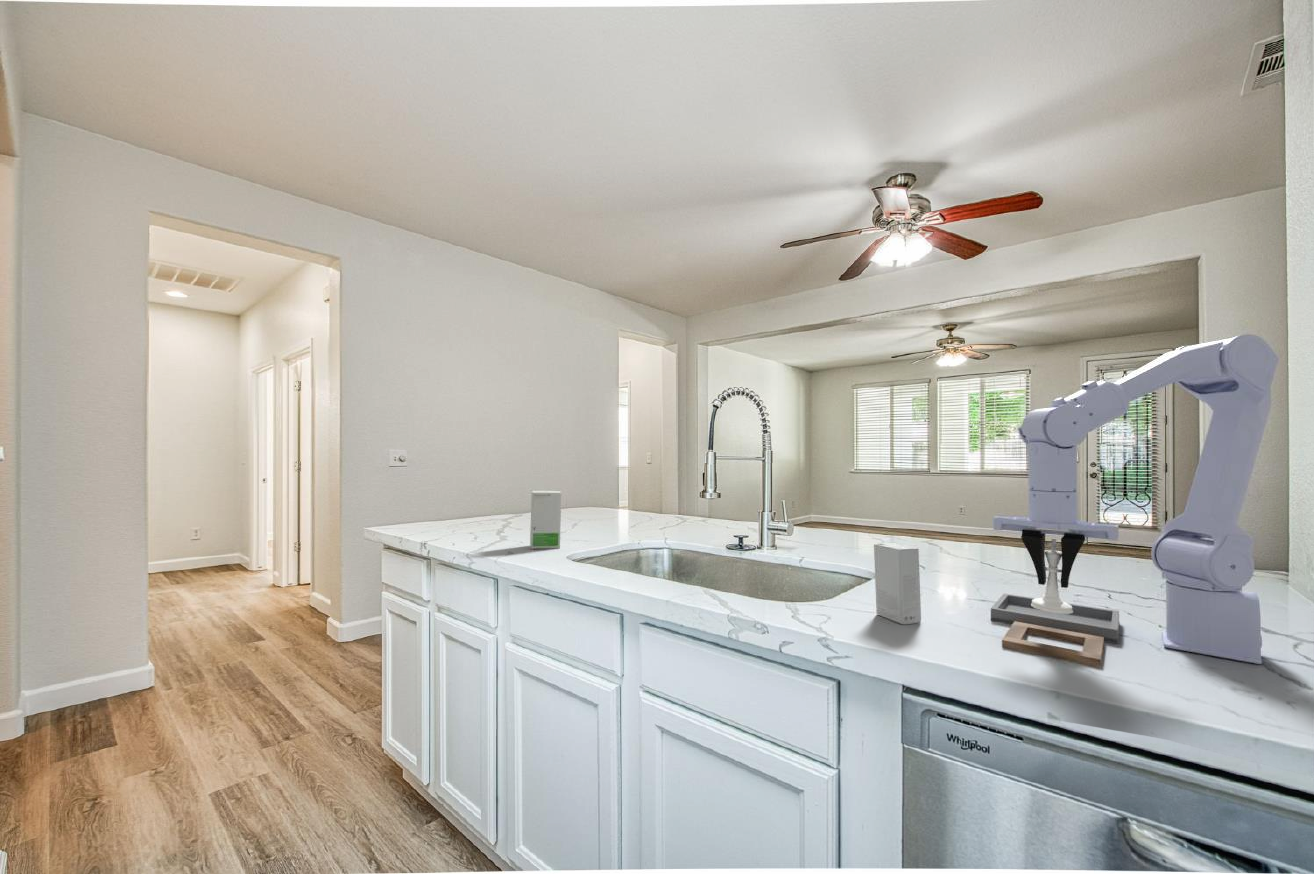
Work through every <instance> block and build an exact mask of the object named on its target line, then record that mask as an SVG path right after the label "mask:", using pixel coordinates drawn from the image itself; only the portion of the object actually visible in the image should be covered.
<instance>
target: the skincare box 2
mask: <svg viewBox="0 0 1314 874" xmlns="http://www.w3.org/2000/svg"><path fill="white" fill-rule="evenodd" d="M919 550H920V549H919V547H918V548H917V547H913V546H909V545H904V544H901V543H900V544H898V543H895V542H883V543H875V544H873V556H874V557H873V558H874V579H875V580H874V581H875V582H874V583H875V584H874V585H875V606H876V609H875V611H876V615H878V616H880V617H883V618H885V619H888V620H891V621H892V622H896V623H898V624H900V625H911V624H912V625H913V624H918V623H922V609H921V608H922V607H921V604H922V603H921V584H920V583H921V581H920V580H921V577H920V555H919V554H920V553H919V552H920V551H919Z"/></svg>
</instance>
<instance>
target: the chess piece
mask: <svg viewBox="0 0 1314 874" xmlns="http://www.w3.org/2000/svg"><path fill="white" fill-rule="evenodd" d="M1045 546H1046V547H1050V550H1045V557H1046V560H1047V563H1048V566H1045V567H1044V570H1046V572H1048V576H1047V580H1046V582H1047V583H1046V587H1045V592H1044V594H1042V597H1037V599H1033V600H1032V604H1031V606H1032V607H1034V608H1036V609H1039V610H1042V611H1047V612H1052V613H1059V614H1071V613H1073V610H1072V606H1071V605H1069V604H1070V603H1069V604H1067V603H1068V602H1066V601H1065V602H1064V601H1062V600H1063V598H1062V597H1060V591H1059V583H1058V573H1061V572H1062V568H1058V567H1059V563H1060V561H1061V560H1062V552H1059V551H1057V548H1061V543H1057V539H1055V538H1051V542H1045Z"/></svg>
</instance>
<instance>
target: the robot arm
mask: <svg viewBox="0 0 1314 874" xmlns="http://www.w3.org/2000/svg"><path fill="white" fill-rule="evenodd" d="M1279 360H1280V357H1279V356H1278V355H1277V353H1276V352H1275V351H1274V350H1273V349H1272V347H1271V345H1270V344H1269V343H1268V342H1267V341H1266V340H1265V339H1264V338H1262V337H1261V336H1258V335H1255V334H1253V333H1251V334H1249V333H1244V334H1240V335H1236V336H1234V337H1230V338H1224V339H1220V340H1213V341H1208V342H1203V343H1198V344H1197V343H1196V344H1188V345H1183V346H1180V347H1178V348H1176V349H1175V350H1171V351H1168V352H1166V353H1163V354H1162V355H1161V356H1160V357H1157V358H1156V359H1154V360H1152V361H1150V362H1149V363H1147V364H1145V365H1143V366H1142V367H1140V368H1138V369H1136V370H1135V371H1132V372H1131V373H1128V374H1127V375H1126V376H1124V377H1122V378H1120V379H1118V380H1116V381H1115V382H1111V381H1108V380H1099V381H1096V380H1092V381H1091V380H1090V381H1087V382H1085V383H1083V384H1081V385H1080V387H1081V389H1080V390H1078V391H1076V392H1075V393H1073V394H1070V395H1068V396H1065V397H1057V398H1055V399H1054V400H1052V401H1051V403H1052V405H1051V406H1050V407H1046V408H1037V409H1033V410H1032V411H1030V412H1028V413H1027V414H1026V415H1025V418H1023V420H1022V423H1021V426H1018V428H1017V433H1018V434H1019V437H1020V438H1021V440H1022V441H1023V443H1024V444H1025V446H1026V455H1027V457H1028V458H1027V461H1028V462H1027V465H1028V467H1027V469H1028V472H1027V473H1028V478H1027V479H1028V482H1027V483H1028V517H1024V516H1023V517H1019V516H1000V515H996V516H993V519H992V520H993V530H994V531H1011V532H1021V536H1020V539H1021V541H1022V542H1023V544H1024V546H1025V549H1026V550H1027V552H1028V554H1029V557H1030V558H1031V560H1032V561H1031V562H1032V563H1033V566H1034V568H1035V573H1036V577H1037V582H1038V585H1041V586H1045V585H1046V584H1047V583H1046V582H1047V571H1046V570H1044V567H1046V561H1045V560H1046V559H1045V557H1046V555H1045V552H1046V550H1045V549H1046V547H1045V546H1046V535H1054V536H1055V535H1056V536H1057V535H1059V536H1062V537H1061V539H1060V544H1061V547H1060V548H1061V554H1062V557H1061V571H1062V572H1060V588H1064V589H1067V588H1068V587H1069V583H1070V575H1071V571H1072V568H1073V565H1074V562H1075V561H1076V557H1077V555H1078V554H1079V552H1080V550H1081V548H1082V547H1083V545H1084V544H1085V541H1086V538H1089V539H1090V538H1092V539H1102V540H1103V539H1104V540H1109V541H1117V542H1118V541H1119V525H1118V524H1112V523H1111V524H1109V523H1108V524H1107V523H1099V522H1098V523H1097V522H1089V521H1079V520H1078V459H1077V458H1078V453H1077V452H1078V447H1077V446H1078V445H1081V444H1082V443H1083V442H1084V441H1085V439H1086V438H1087V435H1088V433H1090V432H1092V431H1094V430H1096V429H1098V428H1101V427H1102V426H1104V425H1106V424H1109V423H1110V422H1112V421H1114V420H1117V419H1119V418H1120V417H1122V416H1124V415H1126V414H1127V413H1128V411H1129V409H1130V402H1133V401H1135V400H1137V399H1140V398H1142V397H1144V396H1146V395H1149V394H1151V393H1153V392H1155V391H1157V390H1159V389H1163V388H1165V387H1166V386H1169V385H1171V384H1173V383H1176V384H1177V385H1178V386H1180V387H1181V388H1183V389H1184V390H1185V391H1187V392H1188V393H1190V394H1191V395H1192V396H1194V397H1195V398H1196V399H1198V400H1199V401H1201V402H1202V403H1205V404H1207V405H1208V407H1210V409H1211V410H1212V415H1211V419H1210V421H1209V425H1208V429H1207V433H1206V436H1205V440H1204V443H1203V447H1202V449H1201V453H1200V456H1199V461H1198V464H1197V468H1196V471H1195V473H1194V477H1193V481H1192V484H1191V487H1190V491H1189V495H1188V497H1187V502H1186V506H1185V509H1184V511H1183V513H1181V514H1179V515H1178V516H1176V517H1174V518H1172V519H1170V520H1169V521H1168V522H1166V523H1165V524H1164V528H1163V531H1162V533H1161V534H1160V535H1159V537H1158V538H1157V539H1155V541H1154V542H1153V544H1152V547H1151V550H1150V551H1151V552H1150V556H1151V561H1152V563H1153V564H1154V566H1155V567H1156V568H1157V569H1158V570H1159V571H1160V572H1161V579H1164V580H1165V603H1166V604H1165V612H1166V613H1165V618H1166V619H1165V624H1166V626H1165V627H1166V628H1165V629H1166V630H1161V637H1162V642H1163V647H1165V648H1167V649H1173V650H1179V651H1184V652H1191V653H1196V654H1200V655H1206V656H1207V655H1208V656H1213V657H1218V658H1223V659H1230V660H1235V661H1241V662H1245V663H1251V664H1252V663H1253V664H1258V665H1262V664H1263V660H1262V648H1263V639H1262V634H1261V632H1262V629H1261V626H1262V625H1261V621H1262V620H1261V606H1260V600H1259V599H1260V598H1259V596H1258V593H1256V592H1255V591H1249V590H1243V587H1245V586H1246V585H1247V584H1248V583H1249V582H1250V581H1251V579H1252V578H1253V575H1254V572H1255V562H1254V557H1253V549H1254V546H1255V540H1254V539H1253V538H1252V537H1251V536H1250V535H1249V534H1248V533H1247V532H1245V531H1244V529H1242V528H1241V526H1240V525H1238V522H1239V518H1240V515H1241V512H1242V508H1243V504H1244V502H1245V498H1246V495H1247V491H1248V488H1249V485H1250V480H1251V478H1252V474H1253V470H1254V467H1255V463H1256V460H1257V456H1258V453H1259V449H1260V446H1261V443H1262V439H1263V436H1264V432H1265V428H1266V426H1267V421H1268V418H1269V415H1270V412H1271V408H1272V401H1273V399H1272V388H1271V386H1272V384H1273V382H1274V381H1273V380H1274V377H1275V373H1276V371H1277V367H1278V363H1279ZM1064 530H1065V531H1064ZM1211 539H1213V540H1211Z"/></svg>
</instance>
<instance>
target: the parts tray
mask: <svg viewBox="0 0 1314 874" xmlns="http://www.w3.org/2000/svg"><path fill="white" fill-rule="evenodd" d="M1037 598H1038V597H1037ZM1037 598H1035V597H1030V596H1023V595H1022V596H1021V595H1016V594H1009V593H1003V594H1001V596H999V598H998V599H997V601H995V603H994V604H993V605H992V607H991V608H990V621H991V622H996V623H1003V624H1009V625H1012V624H1013V623H1014V621H1016V622H1022V623H1027V624H1033V625H1038V626H1044V627H1050V628H1055V629H1061V630H1066V631H1072V632H1077V633H1083V634H1088V635H1094V636H1100V637H1104V643H1105V642H1106V643H1110V644H1111V643H1112V644H1117V645H1118V644H1119V635H1120V632H1119V631H1120V611H1118V610H1113V609H1107V608H1100V607H1096V606H1095V607H1094V606H1089V605H1082V604H1075V603H1069V602H1066V603H1067V604H1069V605H1071V606H1072V610H1073V613H1071V614H1059V613H1052V612H1047V611H1042V610H1039V609H1036V608H1034V607H1032V606H1031V604H1032V600H1033V599H1037Z"/></svg>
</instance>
